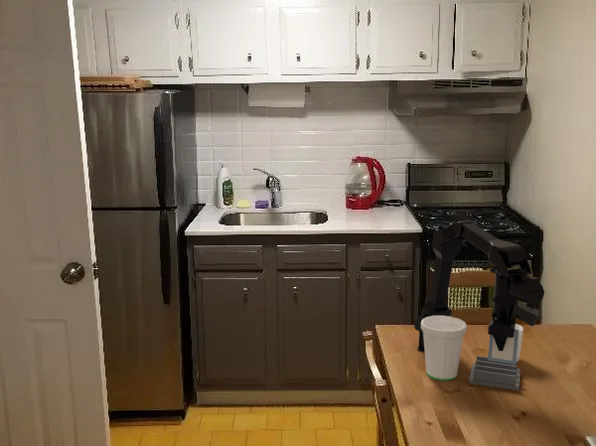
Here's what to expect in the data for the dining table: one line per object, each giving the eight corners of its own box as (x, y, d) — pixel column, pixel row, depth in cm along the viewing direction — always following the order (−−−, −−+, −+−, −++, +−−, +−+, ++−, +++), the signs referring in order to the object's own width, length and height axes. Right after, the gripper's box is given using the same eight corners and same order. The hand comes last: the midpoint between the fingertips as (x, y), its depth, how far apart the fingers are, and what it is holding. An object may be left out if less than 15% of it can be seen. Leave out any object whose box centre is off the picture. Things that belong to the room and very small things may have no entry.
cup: (427, 361, 191) (429, 312, 187) (469, 370, 184) (472, 320, 181) (412, 377, 180) (414, 326, 177) (456, 388, 174) (459, 334, 171)
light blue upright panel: (487, 360, 170) (490, 328, 168) (488, 357, 172) (490, 326, 170) (515, 364, 168) (518, 332, 166) (515, 361, 169) (518, 329, 167)
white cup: (515, 366, 187) (518, 334, 185) (489, 359, 192) (491, 328, 189) (524, 357, 193) (527, 326, 191) (498, 351, 198) (500, 320, 196)
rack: (468, 383, 177) (469, 371, 176) (473, 365, 188) (473, 354, 187) (518, 390, 172) (519, 378, 171) (520, 372, 183) (521, 360, 182)
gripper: (538, 309, 155) (532, 369, 158) (539, 285, 172) (534, 340, 175) (490, 303, 158) (485, 361, 162) (495, 281, 175) (491, 334, 179)
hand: (501, 349), depth 169 cm, fingers closed on light blue upright panel, 2 cm apart
